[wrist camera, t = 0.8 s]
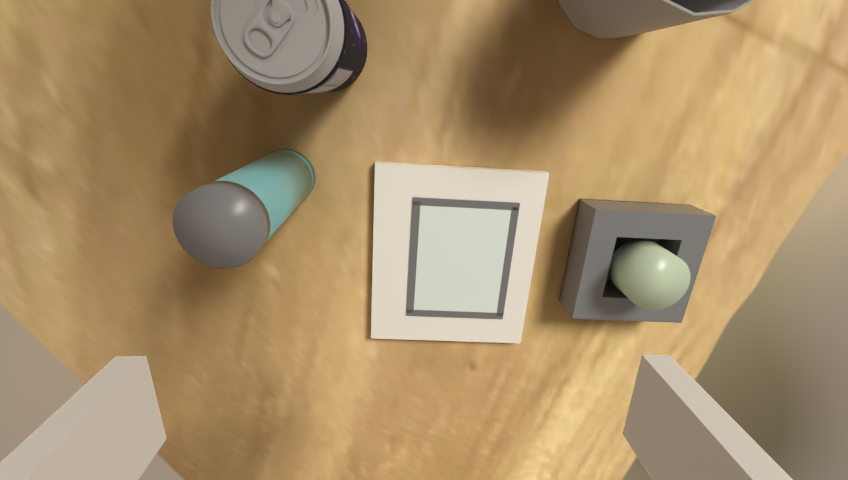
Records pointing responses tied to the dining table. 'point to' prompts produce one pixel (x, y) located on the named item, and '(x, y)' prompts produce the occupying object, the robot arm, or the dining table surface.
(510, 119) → the dining table surface
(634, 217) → the button housing
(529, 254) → the picture board
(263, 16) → the beverage can
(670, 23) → the cup
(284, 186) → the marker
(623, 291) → the button
